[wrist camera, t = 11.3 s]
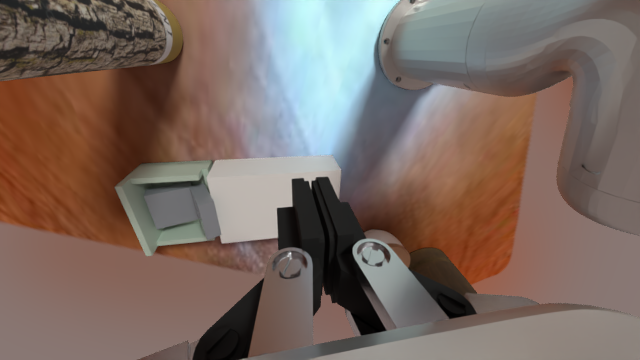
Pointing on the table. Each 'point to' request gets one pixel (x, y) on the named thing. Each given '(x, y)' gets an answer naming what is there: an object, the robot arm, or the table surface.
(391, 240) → the lidded jar
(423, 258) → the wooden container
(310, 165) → the white rectangular block
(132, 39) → the bark-textured canister
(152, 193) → the slate tile back
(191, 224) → the box
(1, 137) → the table surface
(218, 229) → the slate tile front
